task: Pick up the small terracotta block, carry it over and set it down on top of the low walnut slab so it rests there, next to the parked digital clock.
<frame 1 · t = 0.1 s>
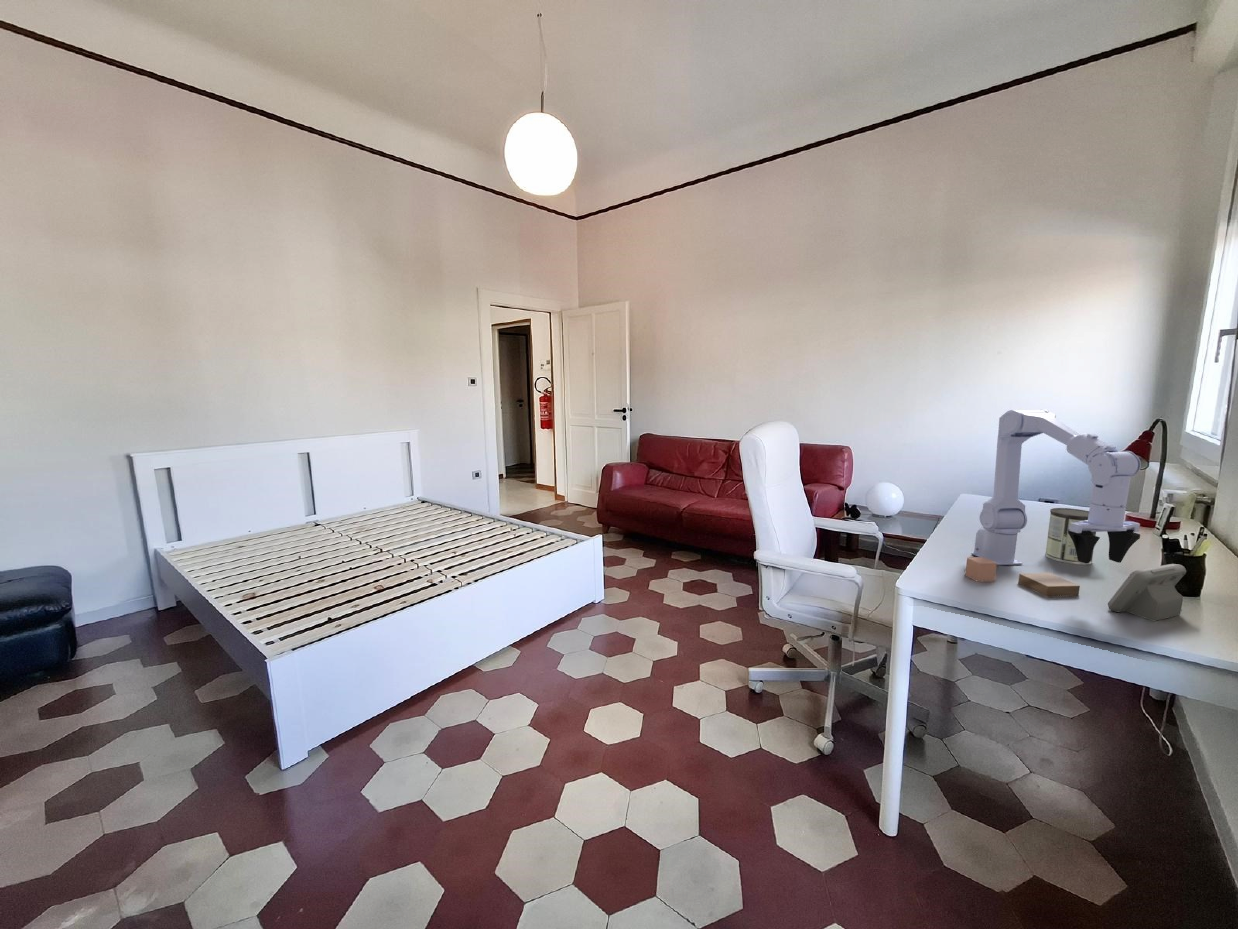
hand: (1099, 561, 111), 10 cm above the table, fingers open, 7 cm apart
digital clock: (1142, 611, 109), on the table
terracotta block: (979, 578, 128), on the table
walnut slab: (1047, 590, 120), on the table
coffee can: (1067, 559, 141), on the table
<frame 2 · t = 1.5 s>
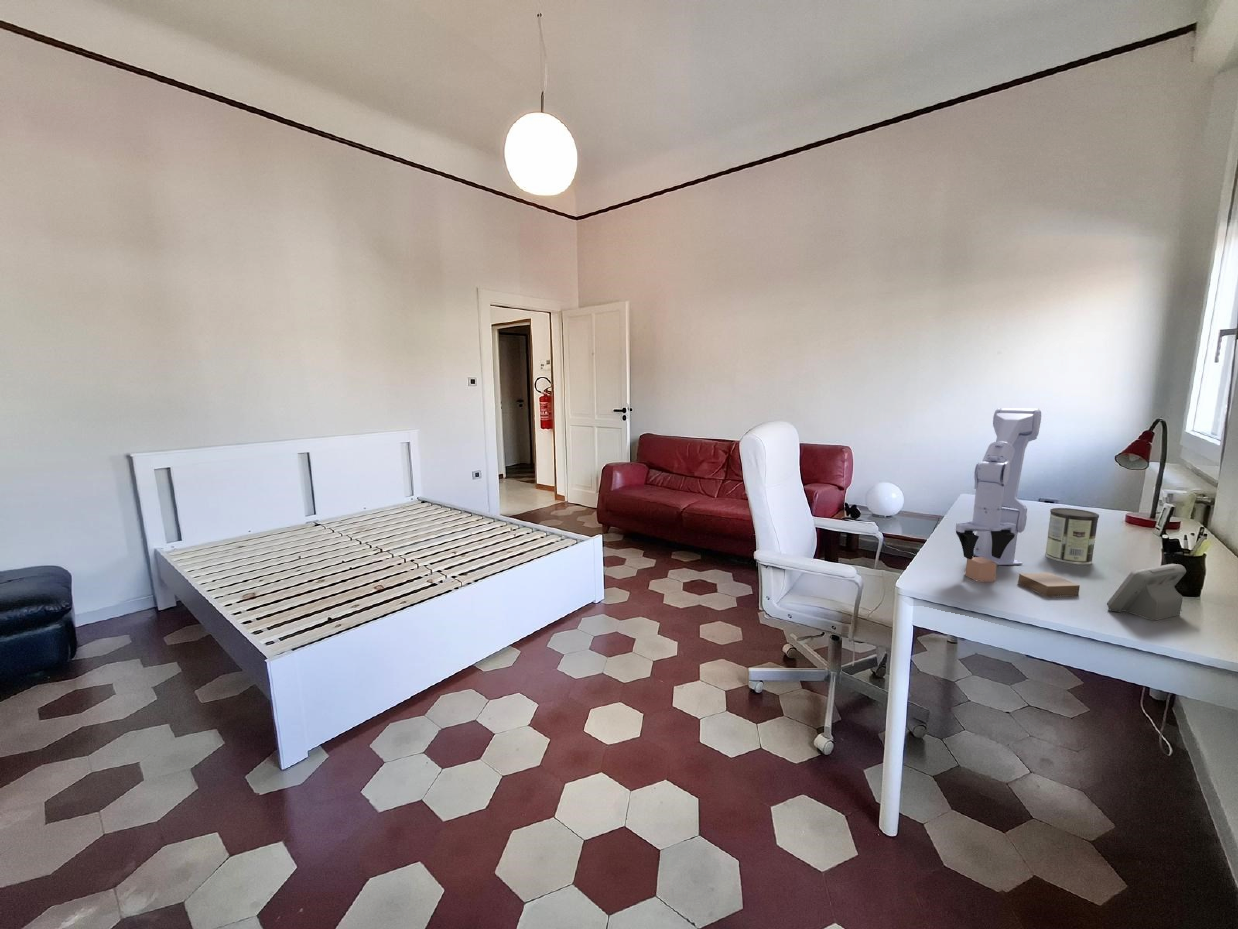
hand: (982, 557, 127), 6 cm above the table, fingers open, 7 cm apart
nothing on the table moved.
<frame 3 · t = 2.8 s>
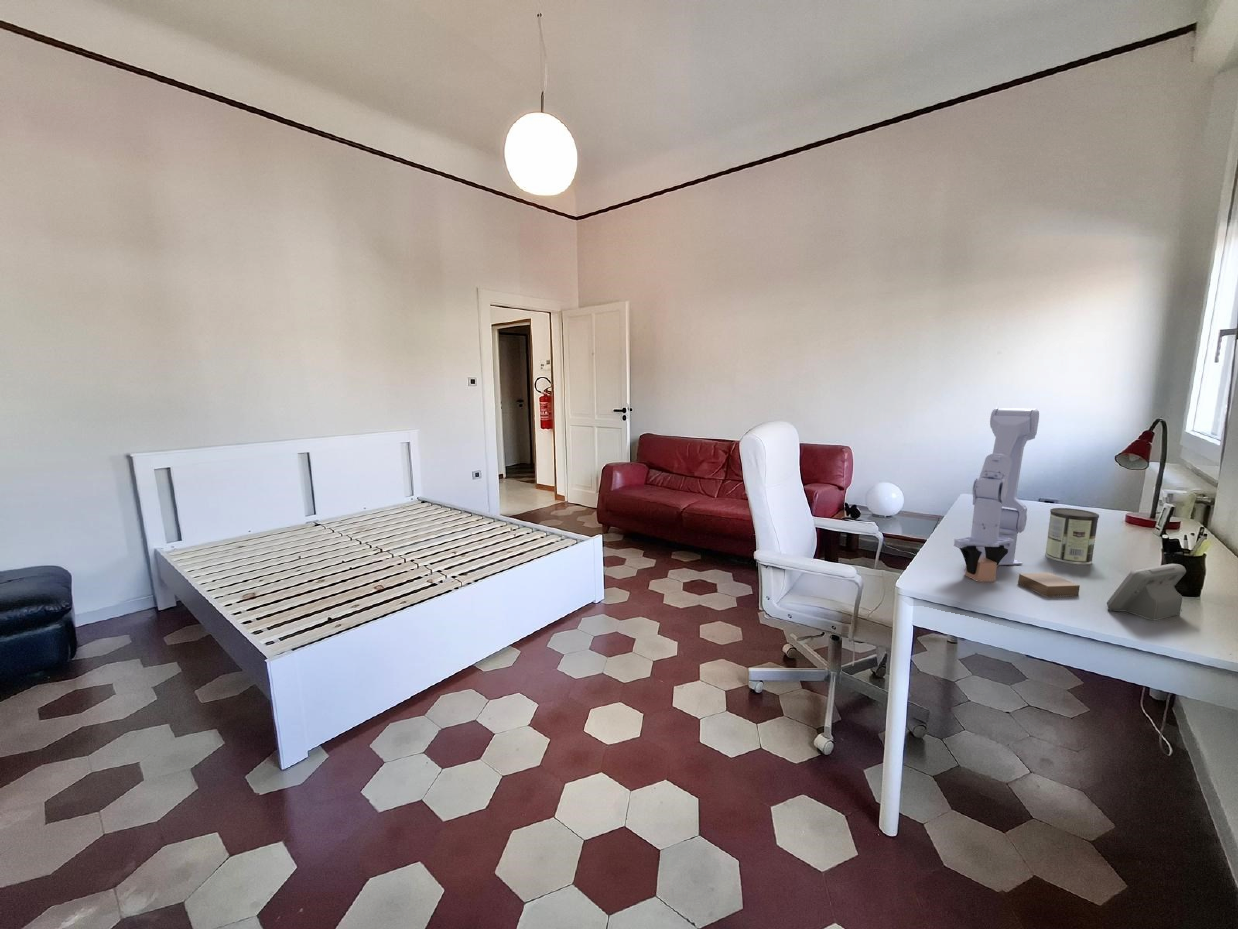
hand: (980, 572, 128), 1 cm above the table, fingers closed on terracotta block, 4 cm apart
terracotta block: (979, 577, 128), on the table, touching gripper
everything else where it was.
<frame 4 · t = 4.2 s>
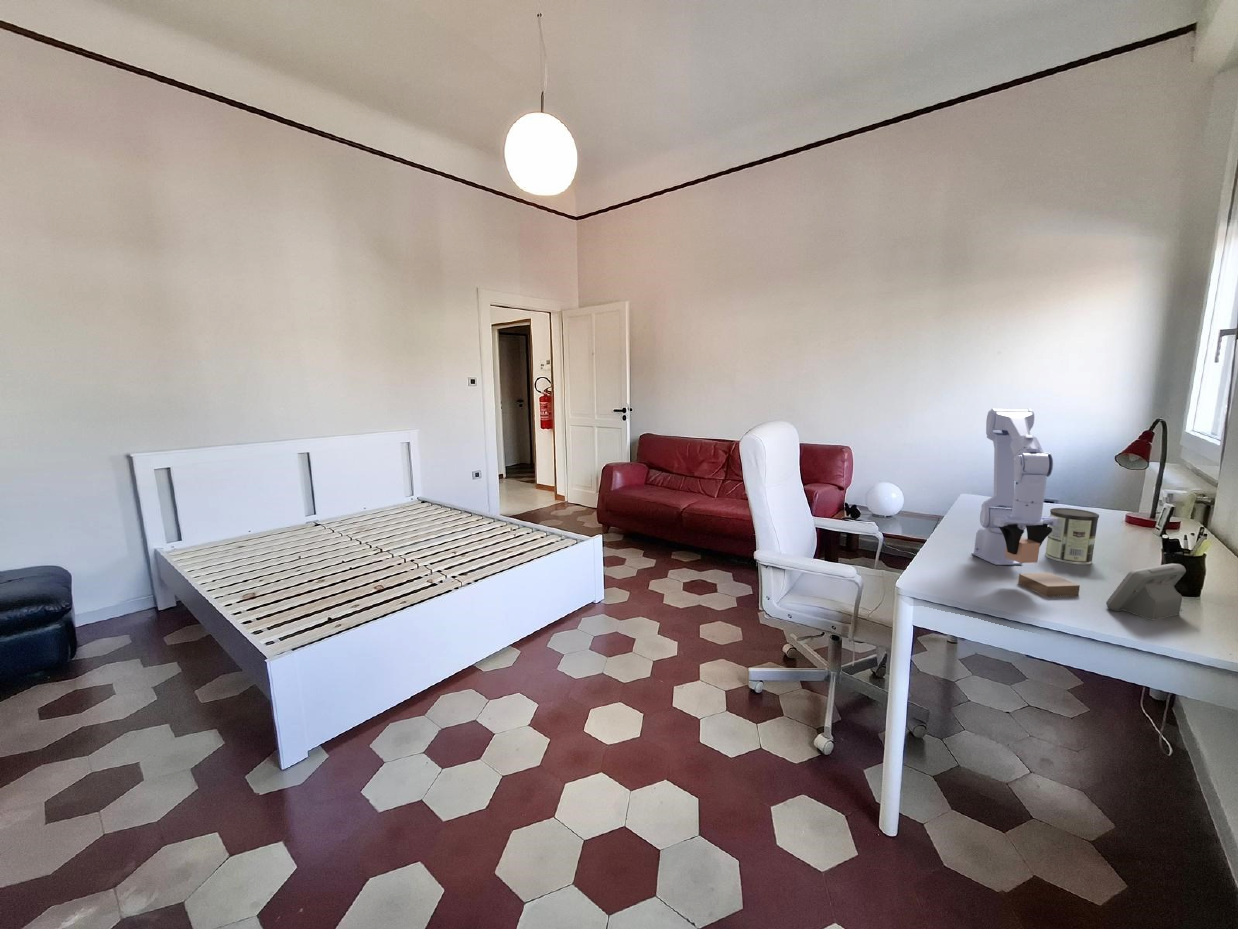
hand: (1021, 552, 122), 8 cm above the table, fingers closed on terracotta block, 5 cm apart
terracotta block: (1020, 559, 122), point 7 cm above the table, touching gripper
everything else where it was.
when the fingers open (5 cm above the table, at t = 5.9 s): terracotta block drops 1 cm, point 3 cm above the table.
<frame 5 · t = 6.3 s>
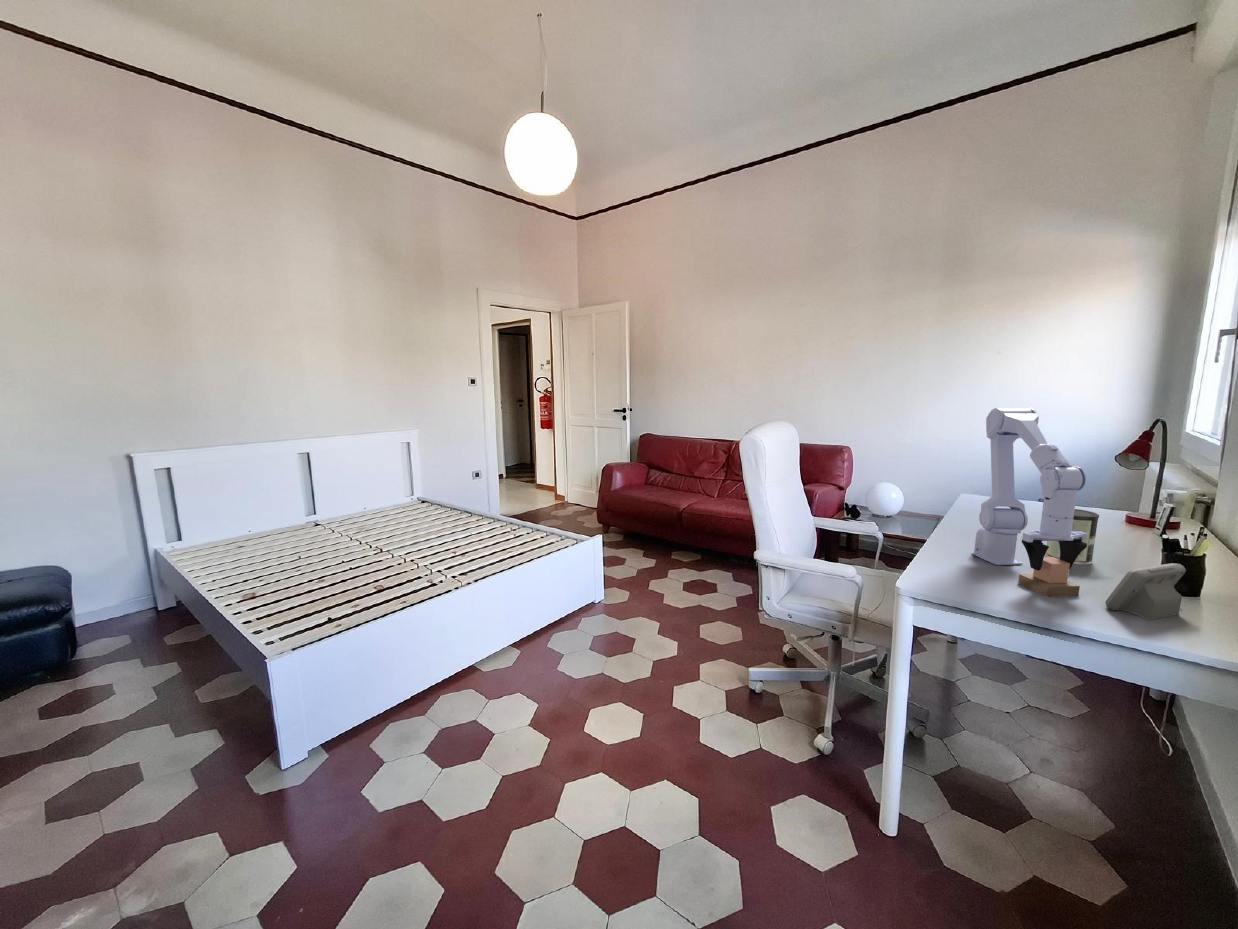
hand: (1050, 568, 120), 5 cm above the table, fingers open, 7 cm apart
terracotta block: (1049, 579, 120), point 3 cm above the table
everything else where it was.
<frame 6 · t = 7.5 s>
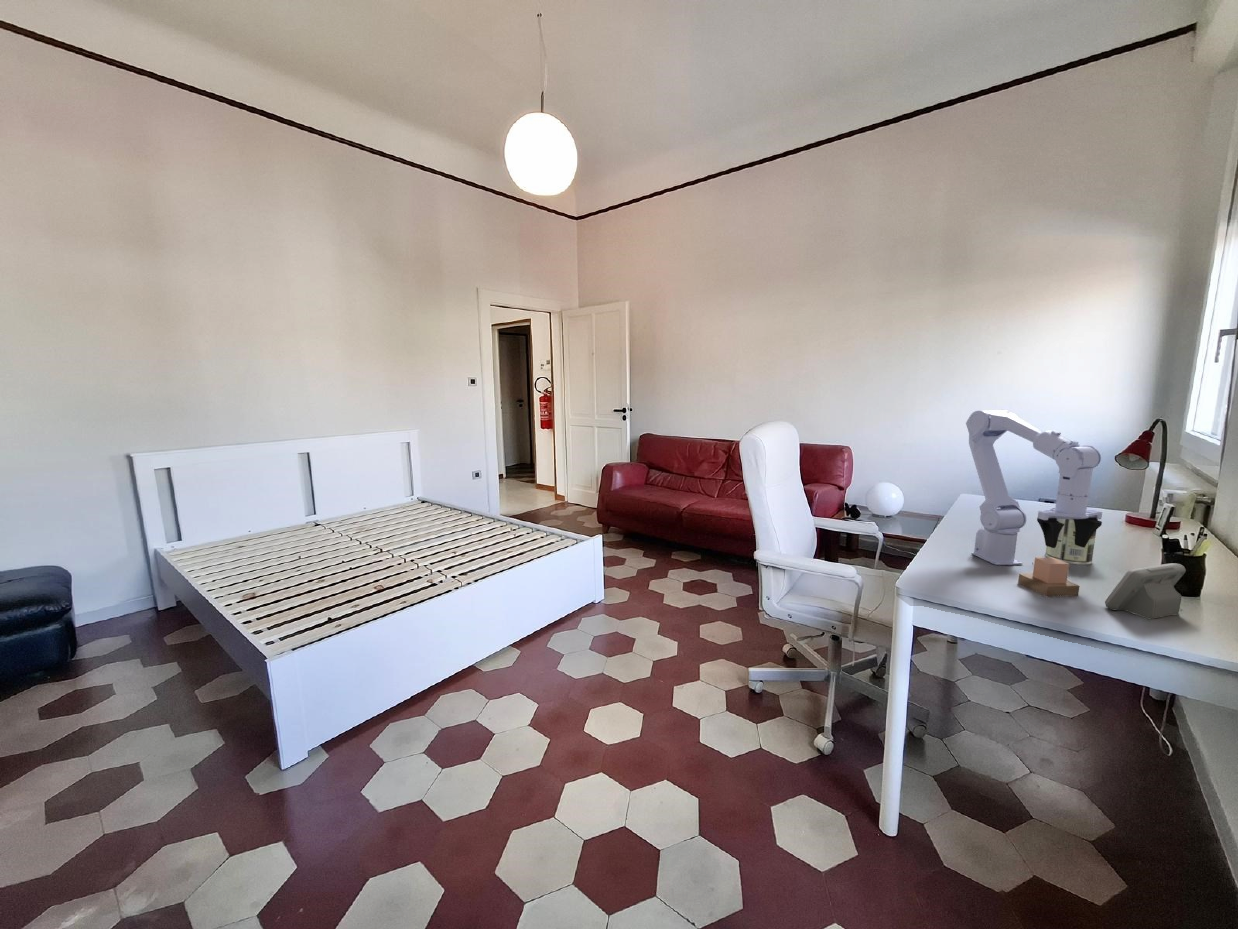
hand: (1065, 546, 122), 10 cm above the table, fingers open, 7 cm apart
terracotta block: (1049, 579, 120), point 3 cm above the table, touching walnut slab
walnut slab: (1046, 590, 120), on the table, touching terracotta block
everything else where it was.
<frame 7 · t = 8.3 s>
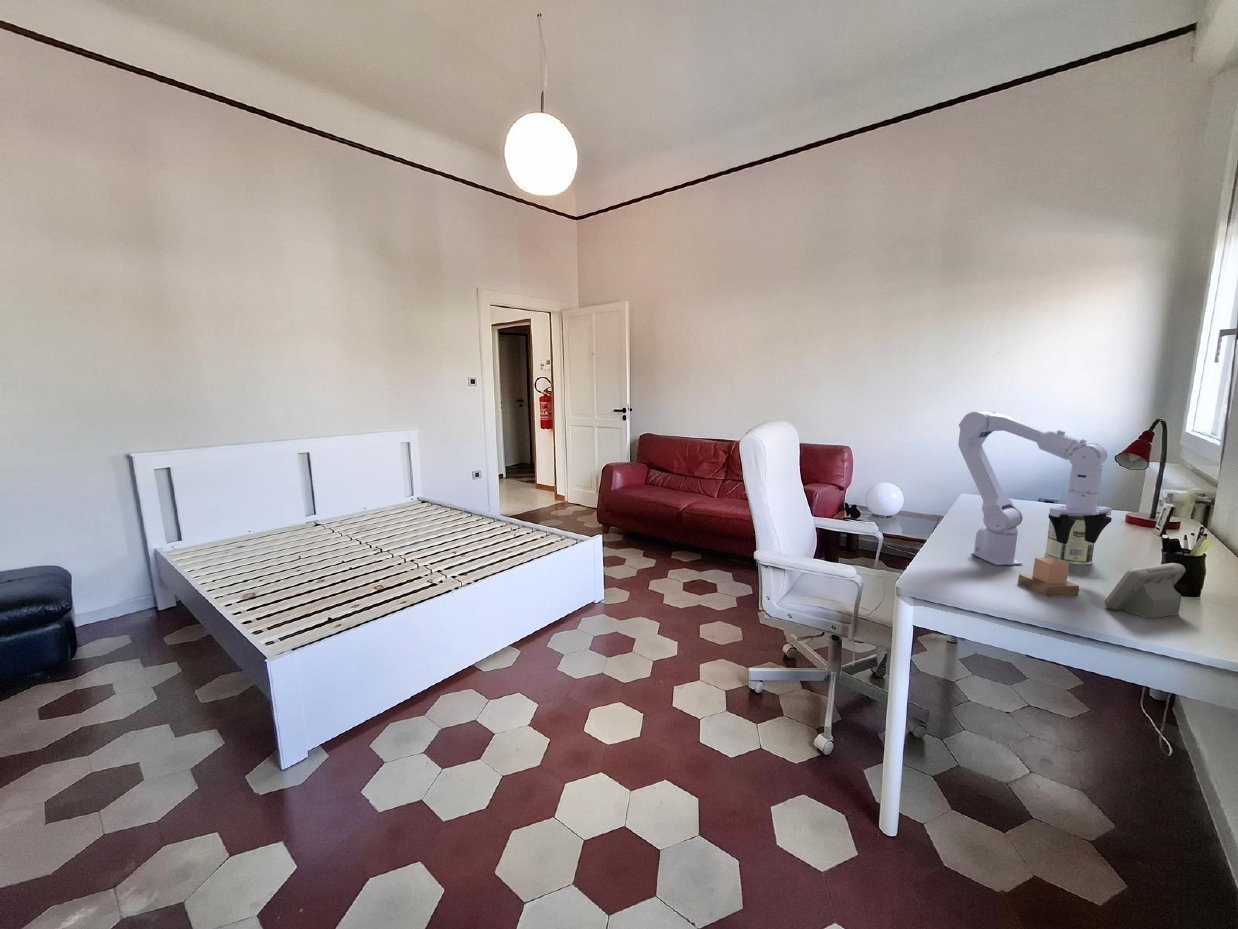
hand: (1075, 542, 125), 10 cm above the table, fingers open, 7 cm apart
nothing on the table moved.
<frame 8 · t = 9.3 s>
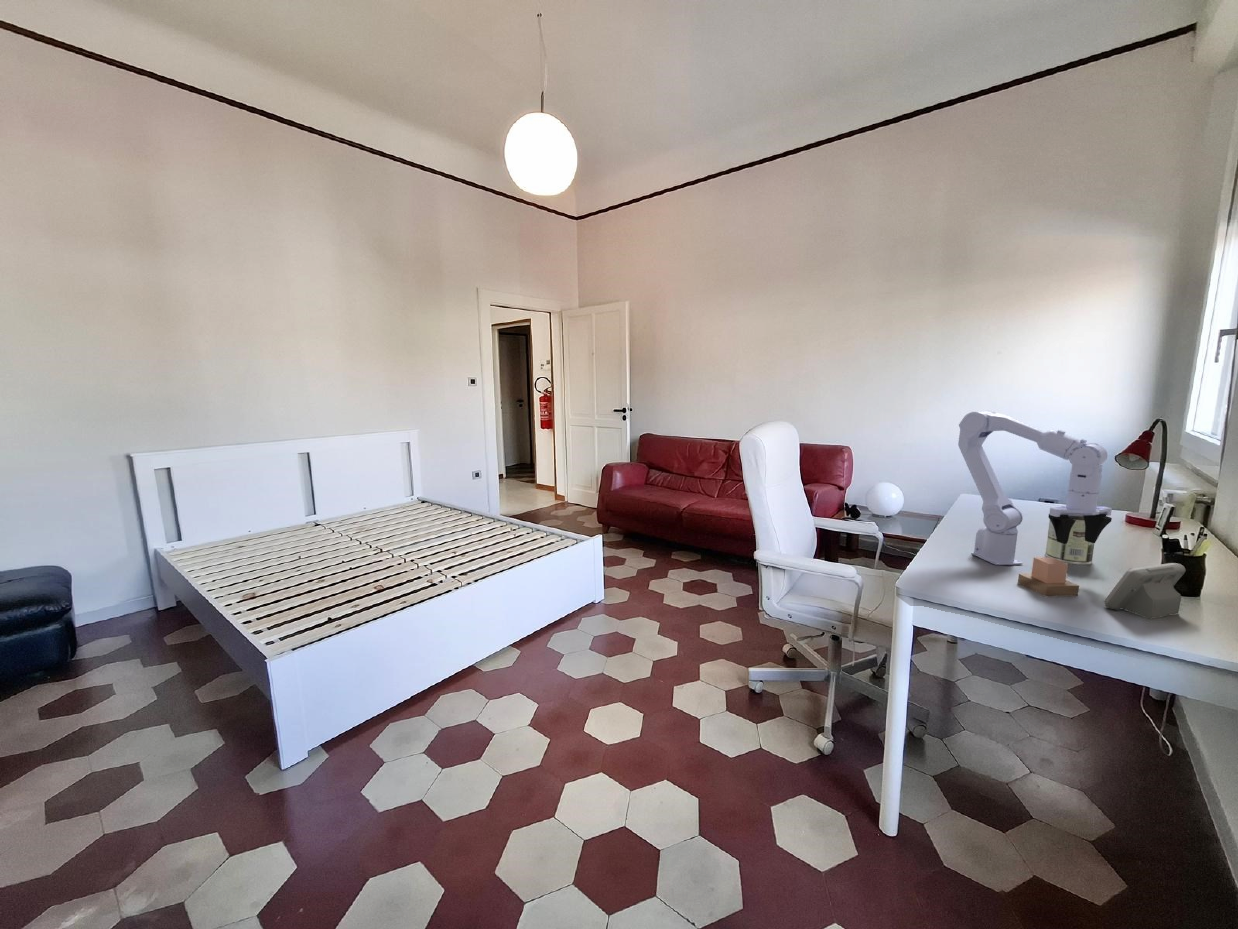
hand: (1075, 542, 125), 10 cm above the table, fingers open, 7 cm apart
nothing on the table moved.
at the end: terracotta block 0.2 cm off-centre on the walnut slab, point 3.0 cm above the walnut slab's base; terracotta block tilted 0°; the gripper is holding nothing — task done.
